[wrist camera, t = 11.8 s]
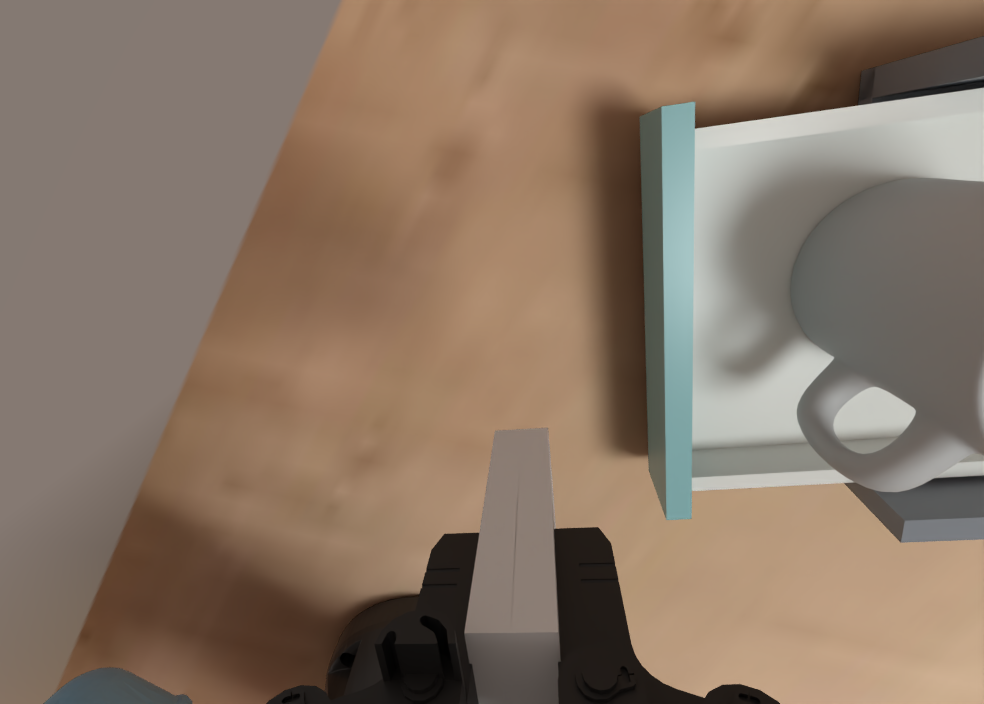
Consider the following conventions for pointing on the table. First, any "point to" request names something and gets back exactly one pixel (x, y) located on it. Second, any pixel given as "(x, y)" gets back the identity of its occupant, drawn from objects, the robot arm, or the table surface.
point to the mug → (898, 324)
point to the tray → (766, 281)
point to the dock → (951, 500)
